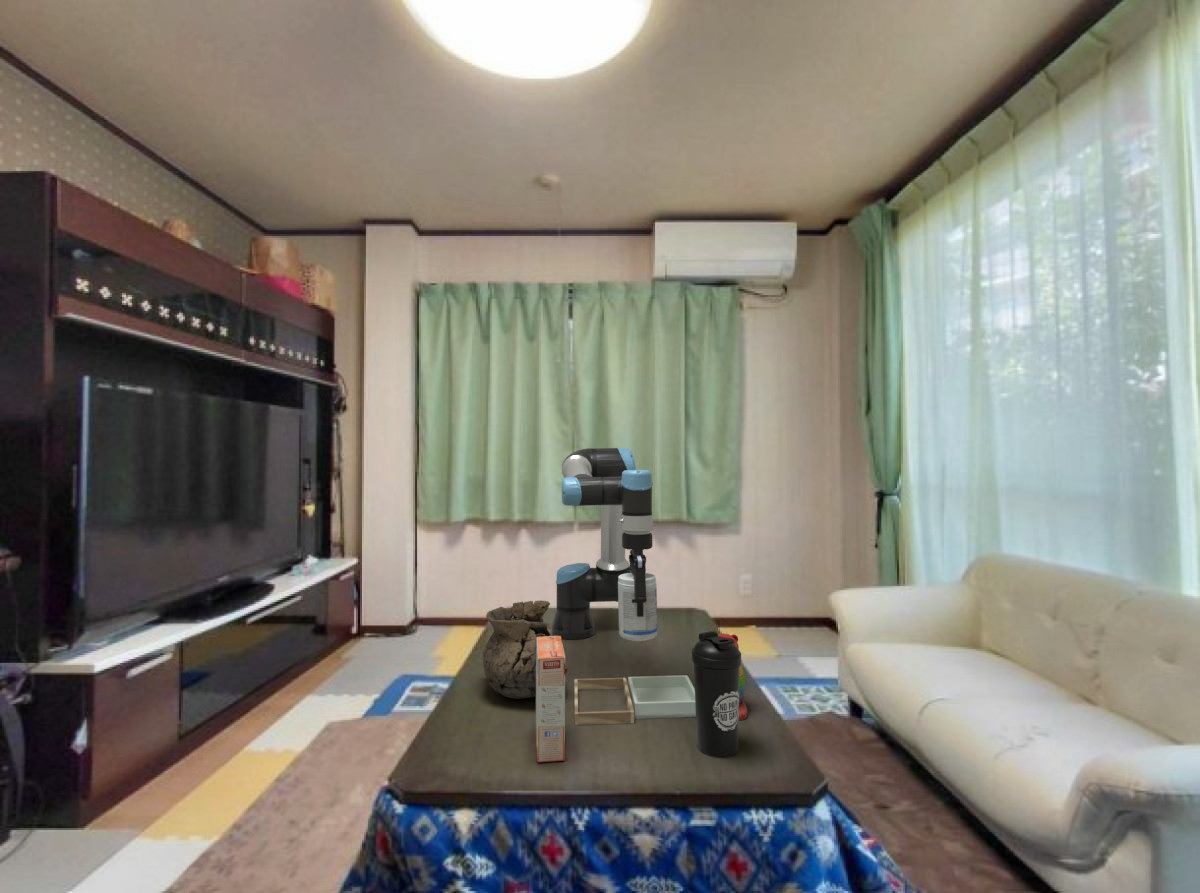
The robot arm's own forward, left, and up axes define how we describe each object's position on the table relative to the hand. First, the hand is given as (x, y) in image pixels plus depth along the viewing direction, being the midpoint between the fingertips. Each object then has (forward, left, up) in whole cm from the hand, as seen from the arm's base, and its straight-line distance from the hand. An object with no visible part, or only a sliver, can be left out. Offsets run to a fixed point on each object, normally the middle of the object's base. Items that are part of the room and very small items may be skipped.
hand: (638, 622), depth 135 cm
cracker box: (+18, -21, -20) cm, 34 cm away
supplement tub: (0, 0, -3) cm, 3 cm away
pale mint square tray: (0, +6, -20) cm, 21 cm away
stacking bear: (+4, +20, -20) cm, 29 cm away
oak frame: (0, -9, -20) cm, 22 cm away
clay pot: (-9, -29, -20) cm, 36 cm away
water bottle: (+21, +14, -20) cm, 32 cm away
